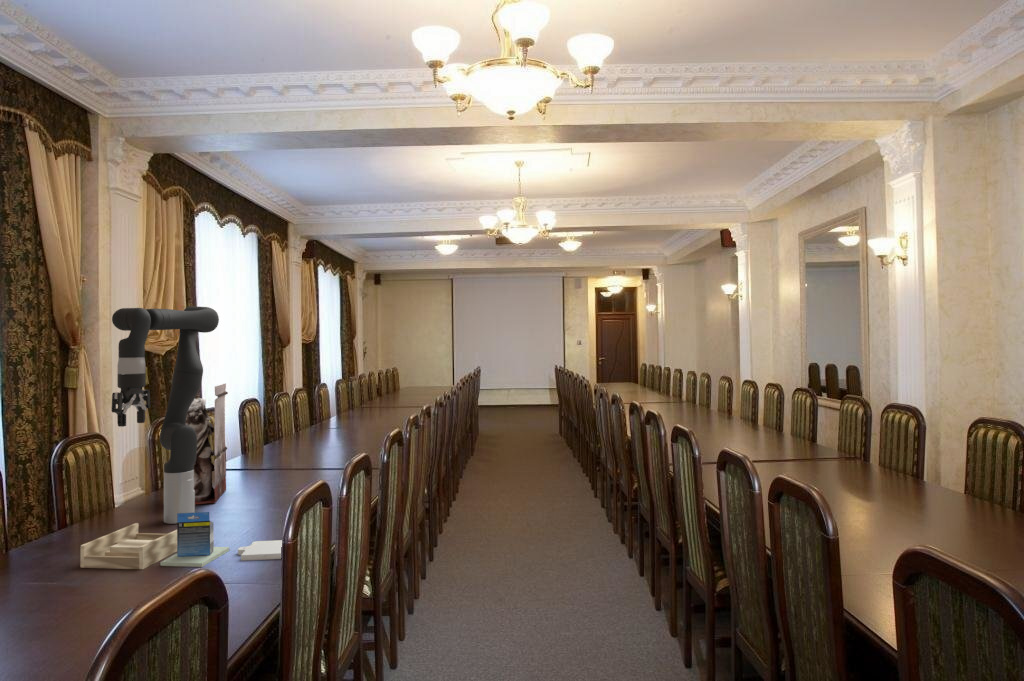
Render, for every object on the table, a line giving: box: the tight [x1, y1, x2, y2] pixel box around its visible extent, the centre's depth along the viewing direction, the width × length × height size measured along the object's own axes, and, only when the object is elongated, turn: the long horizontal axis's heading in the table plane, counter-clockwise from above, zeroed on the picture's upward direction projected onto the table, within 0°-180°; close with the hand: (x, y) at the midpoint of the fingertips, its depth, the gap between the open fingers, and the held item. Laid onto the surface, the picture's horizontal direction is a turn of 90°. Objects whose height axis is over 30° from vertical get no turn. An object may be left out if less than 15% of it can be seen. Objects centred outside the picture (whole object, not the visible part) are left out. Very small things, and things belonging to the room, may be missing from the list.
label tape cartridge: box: [176, 511, 215, 557], centre depth 181 cm, size 9×4×12 cm, turn 98°
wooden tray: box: [79, 522, 177, 570], centre depth 184 cm, size 22×18×6 cm
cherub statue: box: [185, 383, 229, 506], centre depth 253 cm, size 23×19×45 cm
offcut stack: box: [105, 540, 153, 557], centre depth 181 cm, size 7×12×4 cm, turn 85°
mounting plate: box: [237, 539, 283, 561], centre depth 186 cm, size 18×13×2 cm
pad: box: [159, 546, 230, 568], centre depth 181 cm, size 14×12×1 cm
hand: (131, 424), depth 197 cm, fingers open, 8 cm apart
